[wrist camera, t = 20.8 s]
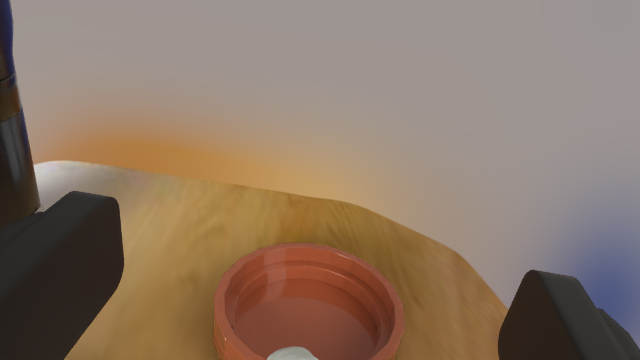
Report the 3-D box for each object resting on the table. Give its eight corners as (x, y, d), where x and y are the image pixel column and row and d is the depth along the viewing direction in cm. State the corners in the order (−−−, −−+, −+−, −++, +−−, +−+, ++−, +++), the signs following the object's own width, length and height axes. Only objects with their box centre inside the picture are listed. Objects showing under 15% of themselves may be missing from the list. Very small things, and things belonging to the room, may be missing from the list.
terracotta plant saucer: (184, 392, 31) (183, 358, 30) (241, 259, 45) (243, 231, 44) (400, 432, 31) (412, 400, 29) (391, 285, 45) (398, 258, 43)
